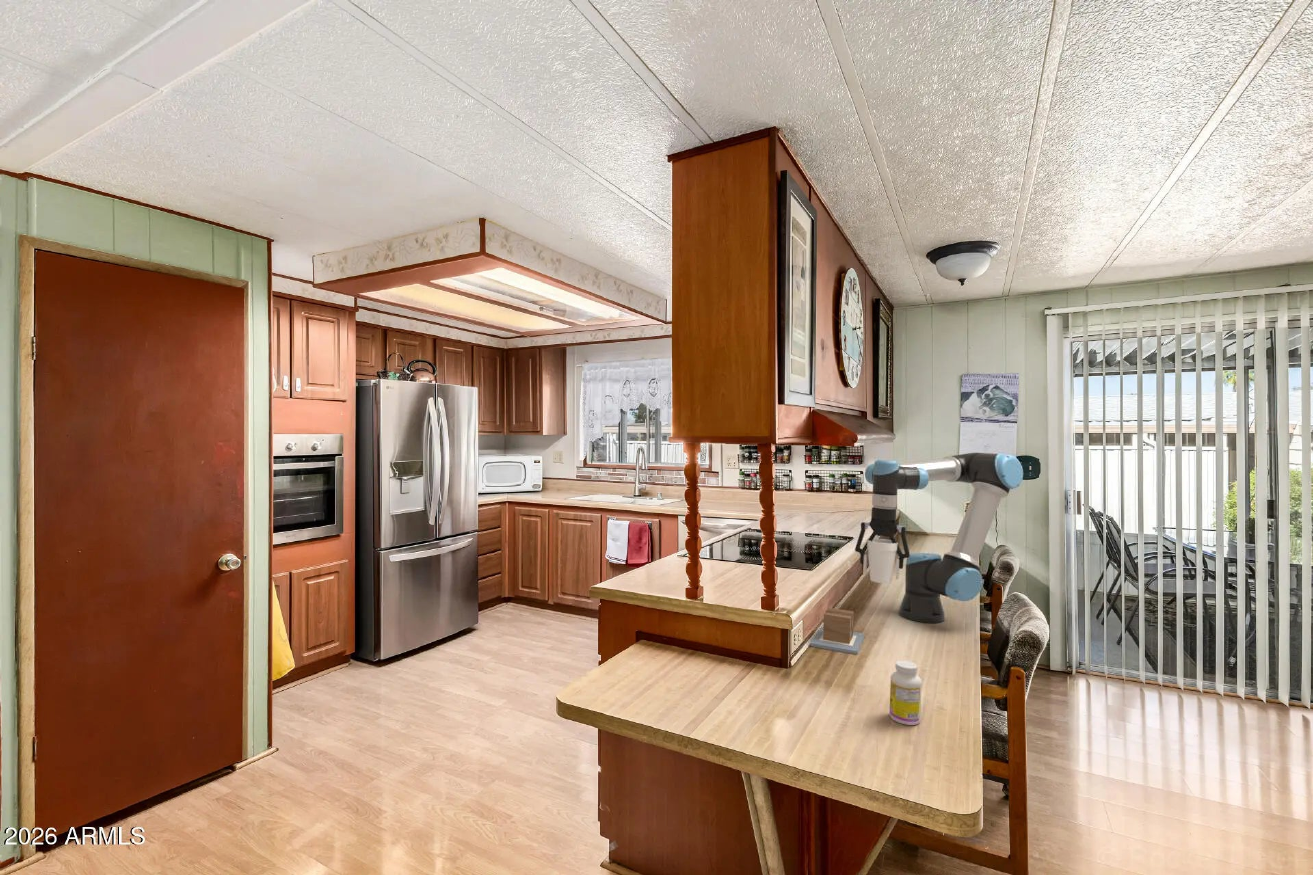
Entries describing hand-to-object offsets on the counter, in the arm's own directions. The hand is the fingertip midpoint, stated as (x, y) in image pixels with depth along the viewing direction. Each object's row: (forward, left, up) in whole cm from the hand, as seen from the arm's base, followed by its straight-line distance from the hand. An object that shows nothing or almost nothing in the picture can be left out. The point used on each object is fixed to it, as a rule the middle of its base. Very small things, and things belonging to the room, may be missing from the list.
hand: (880, 576), depth 194 cm
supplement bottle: (+57, +11, -20) cm, 62 cm away
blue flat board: (+11, -11, -20) cm, 25 cm away
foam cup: (0, 0, -2) cm, 2 cm away
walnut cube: (+11, -11, -19) cm, 25 cm away
